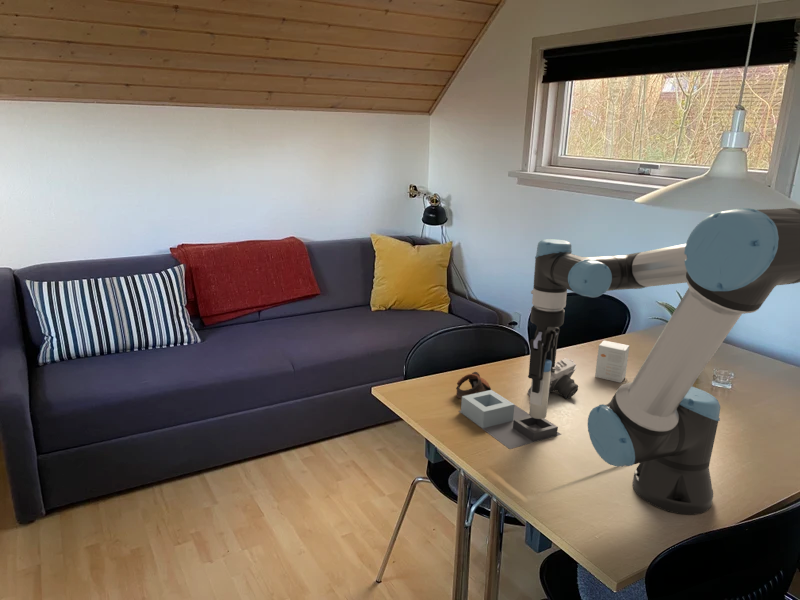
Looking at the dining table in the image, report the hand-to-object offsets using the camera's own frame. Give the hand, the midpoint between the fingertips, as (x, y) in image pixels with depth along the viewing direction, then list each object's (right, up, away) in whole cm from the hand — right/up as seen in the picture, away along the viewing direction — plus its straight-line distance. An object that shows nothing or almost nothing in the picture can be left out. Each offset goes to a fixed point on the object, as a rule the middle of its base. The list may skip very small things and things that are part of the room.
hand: (539, 400), depth 142 cm
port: (-11, -6, +9) cm, 16 cm away
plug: (0, -4, +1) cm, 4 cm away
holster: (0, -8, +3) cm, 9 cm away
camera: (+11, -3, +25) cm, 28 cm away
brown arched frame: (-13, -3, +22) cm, 25 cm away
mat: (-6, -8, +7) cm, 12 cm away
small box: (+31, 0, +39) cm, 50 cm away
